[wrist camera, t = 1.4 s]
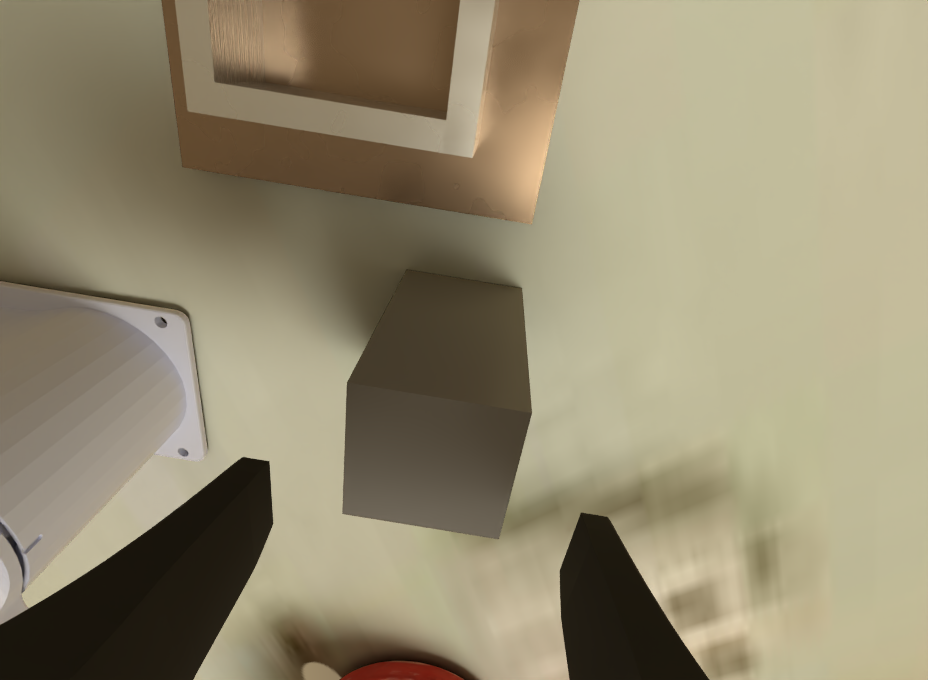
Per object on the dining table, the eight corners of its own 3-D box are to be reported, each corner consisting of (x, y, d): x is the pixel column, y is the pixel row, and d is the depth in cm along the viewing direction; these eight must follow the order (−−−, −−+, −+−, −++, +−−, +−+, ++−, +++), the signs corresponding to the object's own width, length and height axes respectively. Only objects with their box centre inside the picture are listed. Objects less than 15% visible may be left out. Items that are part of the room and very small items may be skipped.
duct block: (397, 367, 21) (342, 513, 14) (406, 269, 19) (347, 382, 12) (501, 384, 21) (498, 539, 14) (522, 288, 19) (531, 412, 12)
